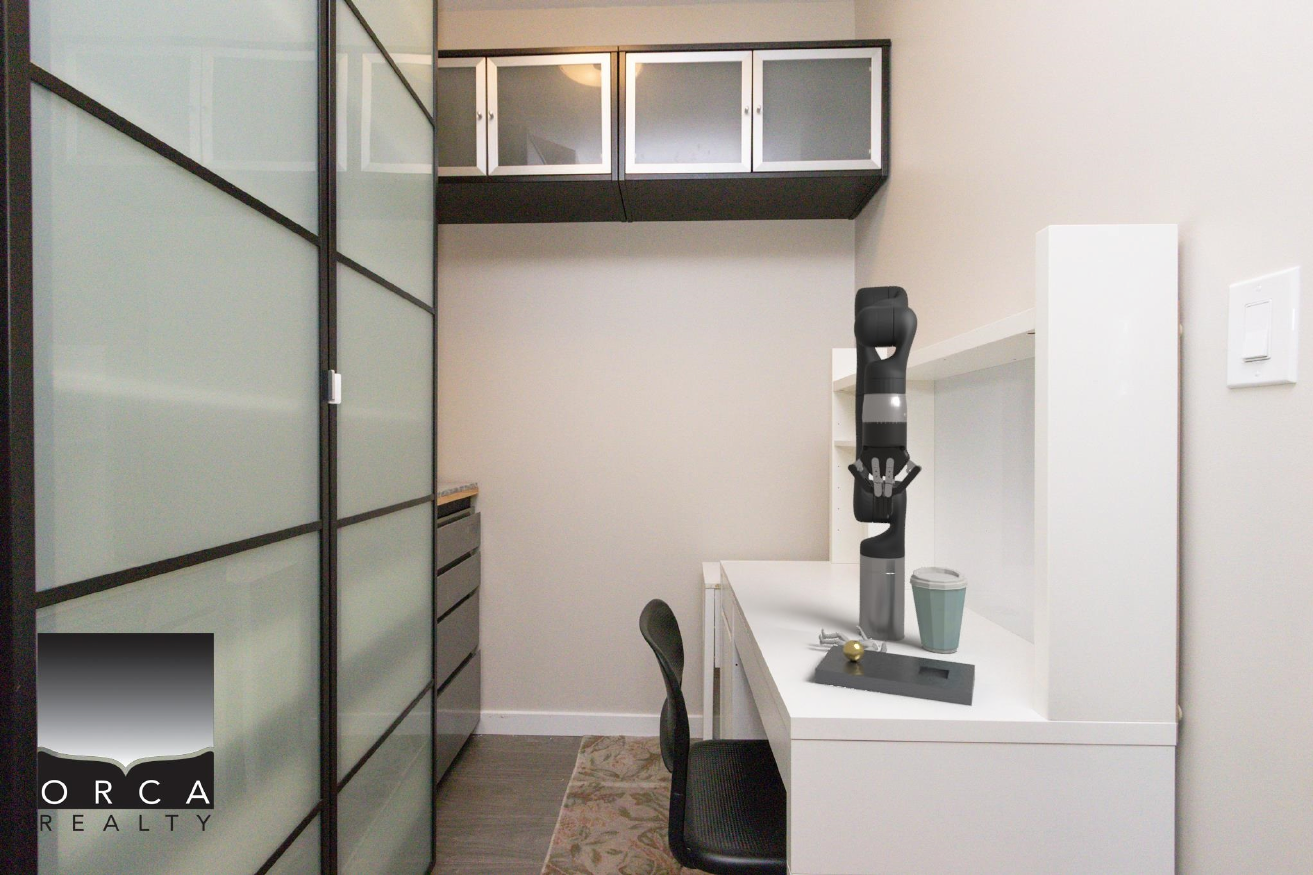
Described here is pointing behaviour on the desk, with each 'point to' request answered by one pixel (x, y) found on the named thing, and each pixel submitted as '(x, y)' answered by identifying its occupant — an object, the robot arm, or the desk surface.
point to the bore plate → (899, 675)
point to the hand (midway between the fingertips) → (883, 517)
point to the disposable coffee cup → (939, 607)
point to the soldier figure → (844, 639)
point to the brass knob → (853, 650)
